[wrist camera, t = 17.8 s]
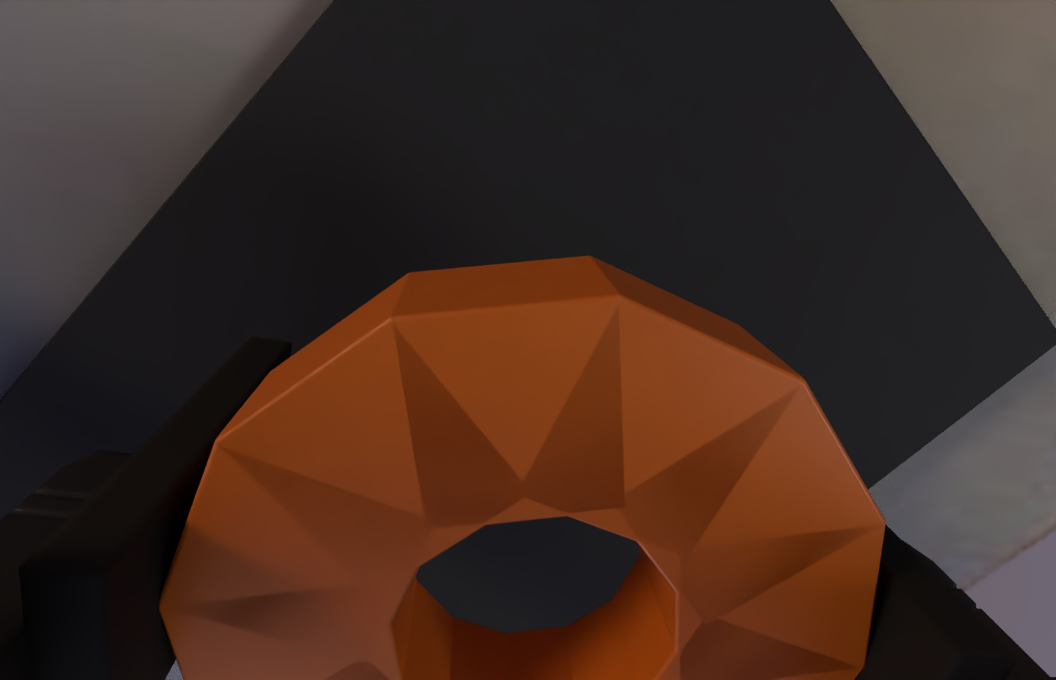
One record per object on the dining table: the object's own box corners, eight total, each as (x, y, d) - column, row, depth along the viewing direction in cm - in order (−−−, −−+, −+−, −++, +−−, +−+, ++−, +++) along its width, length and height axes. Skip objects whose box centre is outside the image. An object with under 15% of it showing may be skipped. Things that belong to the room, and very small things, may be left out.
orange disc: (618, 122, 8) (661, 125, 6) (890, 579, 11) (977, 677, 9) (96, 494, 9) (-2, 592, 7) (466, 815, 12) (464, 944, 10)
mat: (600, -308, 10) (606, -328, 10) (1046, 332, 15) (1064, 339, 14) (-51, 468, 14) (-68, 480, 14) (466, 783, 19) (465, 800, 18)
